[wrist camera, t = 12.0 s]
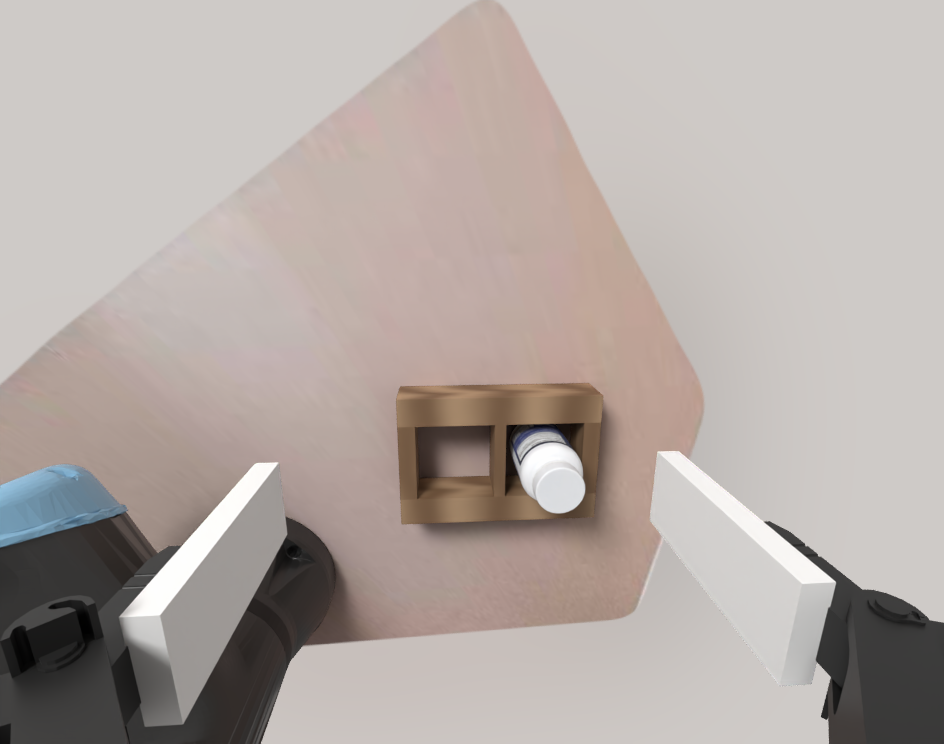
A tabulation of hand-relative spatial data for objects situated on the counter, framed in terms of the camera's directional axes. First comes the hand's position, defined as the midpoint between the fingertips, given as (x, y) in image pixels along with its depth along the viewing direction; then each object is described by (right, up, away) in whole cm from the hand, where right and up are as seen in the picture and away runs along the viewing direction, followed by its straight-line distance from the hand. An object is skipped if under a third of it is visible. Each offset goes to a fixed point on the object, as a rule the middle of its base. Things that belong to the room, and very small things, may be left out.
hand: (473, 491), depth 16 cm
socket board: (+2, -3, +29) cm, 29 cm away
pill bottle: (+6, -3, +29) cm, 30 cm away
